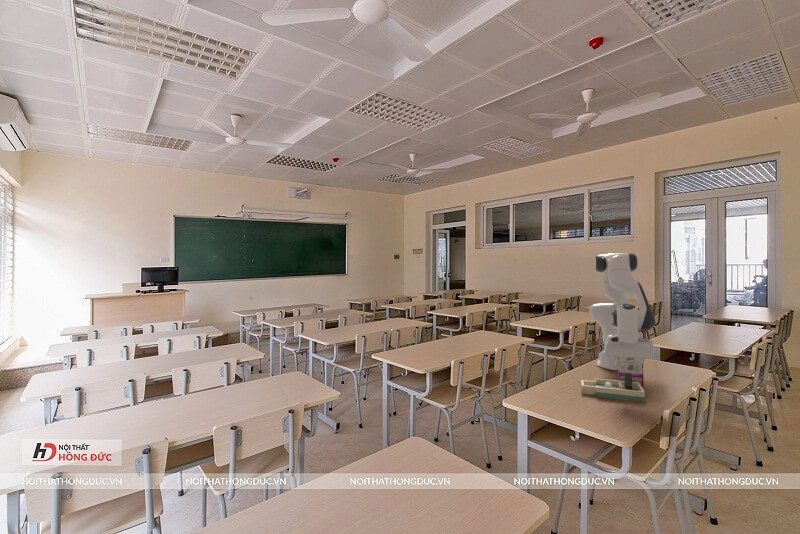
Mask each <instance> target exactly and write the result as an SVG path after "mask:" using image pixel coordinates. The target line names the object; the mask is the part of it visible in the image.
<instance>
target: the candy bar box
mask: <svg viewBox="0 0 800 534" xmlns="http://www.w3.org/2000/svg"><path fill="white" fill-rule="evenodd" d="M618 362H619V366H618V370H617V372H618V374H617V375H618V381H625V379H624V373H632V382H639V383H640V385H641V387H642V388H644V387H645V386H644V385H645V382H644V379H645V378H644V363H643V364H642V368H638V363H640V362H641V360H640V358H627V357H618Z"/></svg>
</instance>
